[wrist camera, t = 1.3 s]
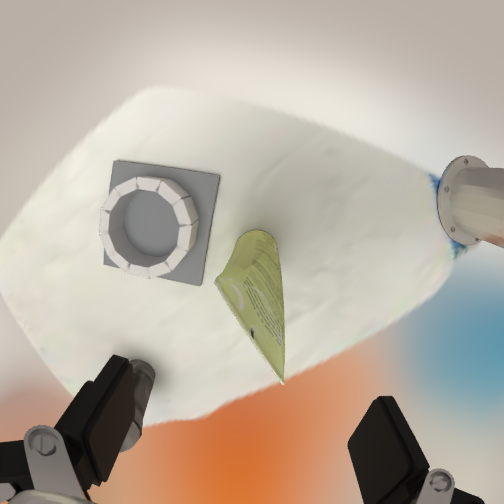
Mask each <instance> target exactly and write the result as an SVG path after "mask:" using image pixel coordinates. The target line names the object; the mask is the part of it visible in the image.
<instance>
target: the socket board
mask: <svg viewBox="0 0 504 504" xmlns="http://www.w3.org/2000/svg"><path fill="white" fill-rule="evenodd" d="M219 179H220V175H214V174H208V173H202V172H196V171H190V170H183V169H177V168H170V167H163V166H155V165H148V164H140V163H132V162H123V161H114V162H113V168H112V175H111V182H110V189H109V196H108V198H107V199H106V201H105V202H104V204H103V206H102V207H101V208H102V209H101V212H100V224H99V233H101V234H99V235H100V238H101V240H102V243H103V245H104V265H108V266H112V267H117V268H121V269H122V270H123V271H124V272H125V273H126V272H127V274H131V275H135V276H139V277H144V278H148V279H149V278H150V279H151V278H154V277H159V278H164V279H168V280H173V281H177V282H182V283H187V284H191V285H196V286H201V284H202V279H203V272H204V266H205V259H206V253H207V247H208V241H209V235H210V229H211V223H212V217H213V212H214V206H215V201H216V195H217V190H218V185H219Z"/></svg>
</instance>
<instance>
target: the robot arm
mask: <svg viewBox="0 0 504 504" xmlns="http://www.w3.org/2000/svg"><path fill="white" fill-rule="evenodd" d="M438 211H439V217H440V220H441V223H442V225H443V227H444V229H445V231H446V233H447V234H448V235H449V236H450V237H451V238H452V239H453V240H454V241H456V242H458V243H461V244H464V245H473V244H477V243H478V242H480V241H482V240H484V241H487V242H489V243H492V244H495V245H497V246H499V247H502V248H504V169H503V168H489V167H488V166H487V165H486V164H485V163H484V162H483V161H482V160H481V159H479V158H477V157H474V156H460V157H457V158H456V159H454V160H453V161H451V163H450V164H449V165H448V166H447V167H446V169H445V171H444V172H443V175H442V177H441V180H440V184H439V188H438ZM134 416H135V399H134V381H133V365H132V364H130V363H129V360H128V359H127V358H124V357H120V356H117V355H112V357H111V358H110V359H109V361H108V362H107V363H106V365H105V366H104V368H103V369H102V371H101V372H100V373H99V375H98V376H97V378H96V379H95V381H94V382H93V381H87V382H86V383H85V384H84V385H83V386H82V388H81V389H80V391H79V392H78V393H77V395H76V396H75V398H74V399H73V401H72V402H71V403H70V405H69V406H68V408H67V409H66V411H65V412H64V414H63V415H62V416H61V418H60V419H59V421H58V422H57V424H56V425H55V427H54V428H52V427H49V426H46V425H38V426H34V427H32V428H30V429H29V430H28V431H27V432H26V434H25V436H24V440H18V441H10V442H0V503H1V502H4V501H8V502H9V503H8V504H97V503H94V502H92V500H91V497H90V495H89V493H88V491H87V490H88V489H90V487H91V485H92V484H94V485H97V486H100V485H101V482H102V481H103V482H106V481H107V480H108V477H109V475H110V473H111V470H112V468H113V466H114V463H115V461H116V459H117V456H118V454H119V451H120V449H121V447H122V444H123V442H124V440H125V438H126V435H127V433H128V431H129V428H130V426H131V424H132V422H133V419H134ZM348 450H349V453H350V457H351V460H352V463H353V467H354V470H355V474H356V477H357V481H358V484H359V488H360V491H361V495H362V499H363V502H364V504H485V503H484V501H483V500H482V499H481V498H479V497H477V496H474V495H472V494H469V493H466V492H464V491H462V490H459V489H457V488H454V485H455V482H454V478H453V477H452V475H451V474H450V473H449V472H448V471H446V470H444V469H433V470H431V471H430V472H429V470H428V468H429V467H430V466H429V464H428V462H427V460H426V458H425V456H424V454H423V452H422V450H421V448H420V446H419V444H418V442H417V440H416V438H415V436H414V434H413V433H412V431H411V429H410V427H409V425H408V423H407V421H406V419H405V417H404V416H403V414H402V412H401V410H400V408H399V407H398V404H397V403H396V401H395V399H394V398H393V397H392V396H379V397H377V399H375V400H374V401H373V402H372V404H371V405H370V407H369V409H368V410H367V412H366V414H365V416H364V417H363V419H362V420H361V422H360V423H359V425H358V427H357V428H356V430H355V431H354V433H353V434H352V436H351V437H350V439H349V441H348Z"/></svg>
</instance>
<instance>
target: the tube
mask: <svg viewBox="0 0 504 504" xmlns="http://www.w3.org/2000/svg"><path fill="white" fill-rule="evenodd" d="M214 283H215V285H216V286H217V288H218V289H219V291H220V293H221V295H222V296H223V298H224V300H225V301H226V303H227V305H228V306H229V308H230V310H231V311H232V313H233V314H234V316H235V317H236V319H237V320H238V322H239V323H240V325H241V326H242V328H243V329H244V331H245V332H246V334H247V335H248V337H249V338H250V340H251V341H252V343H253V344H254V346H255V347H256V348H257V350H258V351H259V353H260V354H261V356H262V357H263V358H264V360H265V361H266V362H267V364H268V365H269V367H270V368H271V370H272V371H273V373H274V374H275V376H276V377H277V378H278V380H279V381H280V382H281V384H282V385H284V363H285V326H284V302H283V288H282V276H281V268H280V260H279V254H278V249H277V245H276V242H275V241H274V239H273V238H272V237H271V236H270V235H269V234H268V233H266V232H263V231H260V230H253V231H249V232H246V233H245V234H243V235H242V236H241V237H240V238H239V239H238V241H237V243H236V245H235V248H234V250H233V253H232V255H231V257H230V259H229V261H228V263H227V265H226V267H225V269H224V270H223V272H222V273H221V274H220V275H219V276H218V277H216V280H215V282H214Z"/></svg>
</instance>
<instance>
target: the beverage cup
mask: <svg viewBox="0 0 504 504" xmlns="http://www.w3.org/2000/svg"><path fill="white" fill-rule="evenodd" d="M129 363H130V364H132V365H133V381H134V399H135V416H134V419H133V422H132V424H131V426H130V428H129V431H128V433H127V435H126V438H125V440H124V442H123V444H122V447H121V449H120V451H119V452H124V451H126V450H129V449H130V448H132V447H133V446H134V445H135V443H136V442H137V441H138V439H139V438H140V436H141V435H142V425H143V417H144V414H145V410H146V407H147V403H148V400H149V397H150V393H151V390H152V387H153V382H154V378H155V372H154V370H153V368H152V367H151V366H150V365H149V364H148V363H146V362H144V361H141V360H132V361H131V362H129Z"/></svg>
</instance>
